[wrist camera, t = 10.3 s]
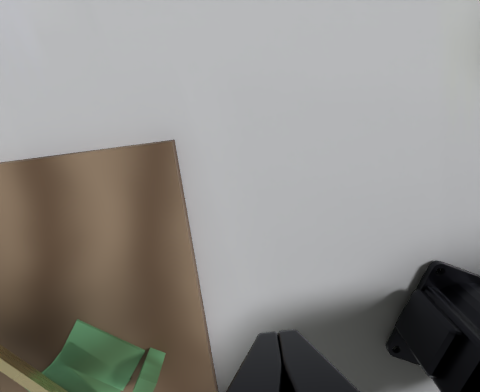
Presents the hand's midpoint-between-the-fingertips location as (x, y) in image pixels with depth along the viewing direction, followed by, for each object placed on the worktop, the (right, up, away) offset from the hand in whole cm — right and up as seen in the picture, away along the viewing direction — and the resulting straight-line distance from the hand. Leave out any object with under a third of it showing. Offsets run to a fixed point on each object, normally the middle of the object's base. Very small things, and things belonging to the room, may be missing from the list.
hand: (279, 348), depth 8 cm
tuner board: (-12, -3, +14) cm, 19 cm away
